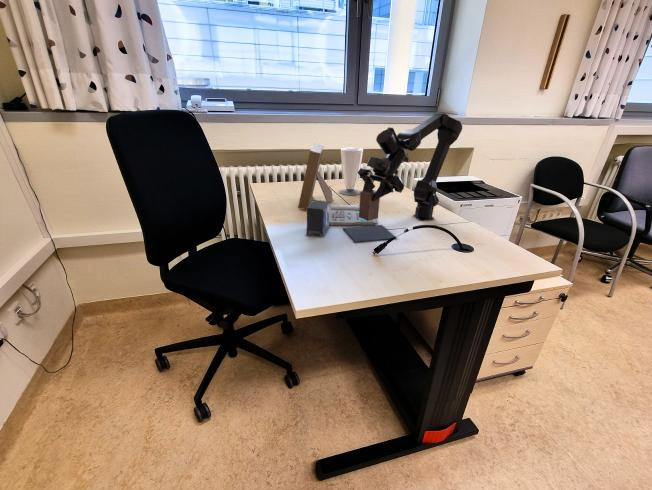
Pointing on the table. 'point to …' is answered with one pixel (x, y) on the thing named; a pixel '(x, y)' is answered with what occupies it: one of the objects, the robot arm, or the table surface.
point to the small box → (317, 218)
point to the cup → (351, 168)
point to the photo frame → (313, 178)
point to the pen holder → (368, 205)
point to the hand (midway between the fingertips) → (366, 199)
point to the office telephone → (347, 216)
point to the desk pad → (368, 233)
